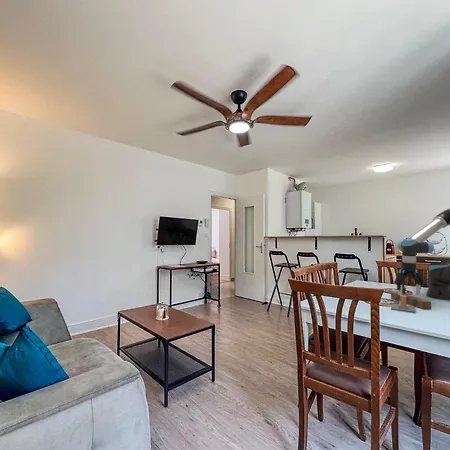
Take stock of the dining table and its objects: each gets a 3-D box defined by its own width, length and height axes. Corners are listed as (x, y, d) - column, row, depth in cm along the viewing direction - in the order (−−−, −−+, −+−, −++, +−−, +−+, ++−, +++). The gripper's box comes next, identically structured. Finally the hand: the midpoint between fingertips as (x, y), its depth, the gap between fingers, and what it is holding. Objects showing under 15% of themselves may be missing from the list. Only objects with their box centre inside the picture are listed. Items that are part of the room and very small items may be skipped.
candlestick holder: (413, 299, 187) (412, 256, 188) (399, 298, 189) (398, 255, 190) (407, 296, 196) (406, 255, 197) (393, 295, 198) (393, 254, 199)
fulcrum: (392, 305, 171) (392, 292, 172) (415, 308, 164) (415, 295, 165) (391, 309, 162) (391, 296, 162) (415, 313, 155) (415, 299, 155)
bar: (391, 299, 187) (391, 292, 188) (397, 299, 188) (397, 292, 188) (424, 310, 162) (424, 302, 162) (431, 309, 163) (431, 301, 163)
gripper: (420, 261, 181) (420, 293, 181) (387, 261, 177) (387, 293, 177) (430, 262, 174) (430, 295, 173) (397, 263, 170) (396, 296, 169)
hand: (409, 294), depth 175 cm, fingers open, 13 cm apart
